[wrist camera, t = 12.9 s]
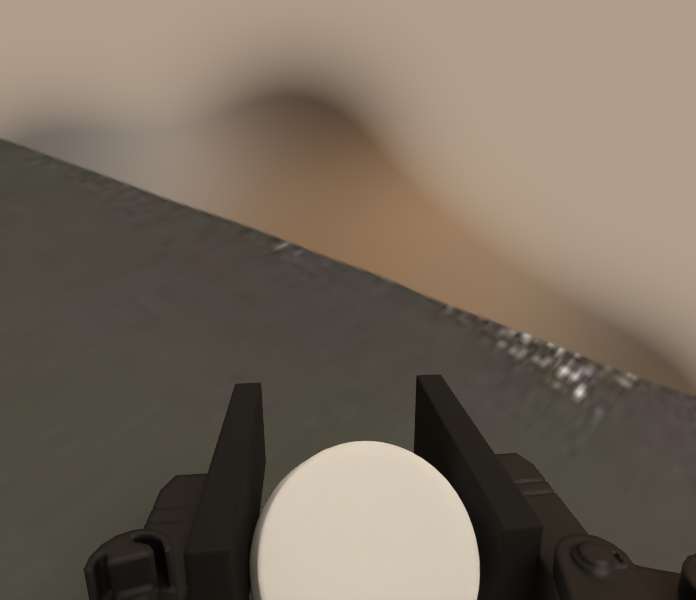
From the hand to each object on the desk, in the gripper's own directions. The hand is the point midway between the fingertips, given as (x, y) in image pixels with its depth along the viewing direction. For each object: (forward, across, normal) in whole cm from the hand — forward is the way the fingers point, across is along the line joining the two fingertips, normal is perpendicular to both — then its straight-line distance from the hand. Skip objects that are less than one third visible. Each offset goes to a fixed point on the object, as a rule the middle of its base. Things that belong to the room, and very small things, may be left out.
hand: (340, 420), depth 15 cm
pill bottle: (0, 0, -5) cm, 5 cm away
